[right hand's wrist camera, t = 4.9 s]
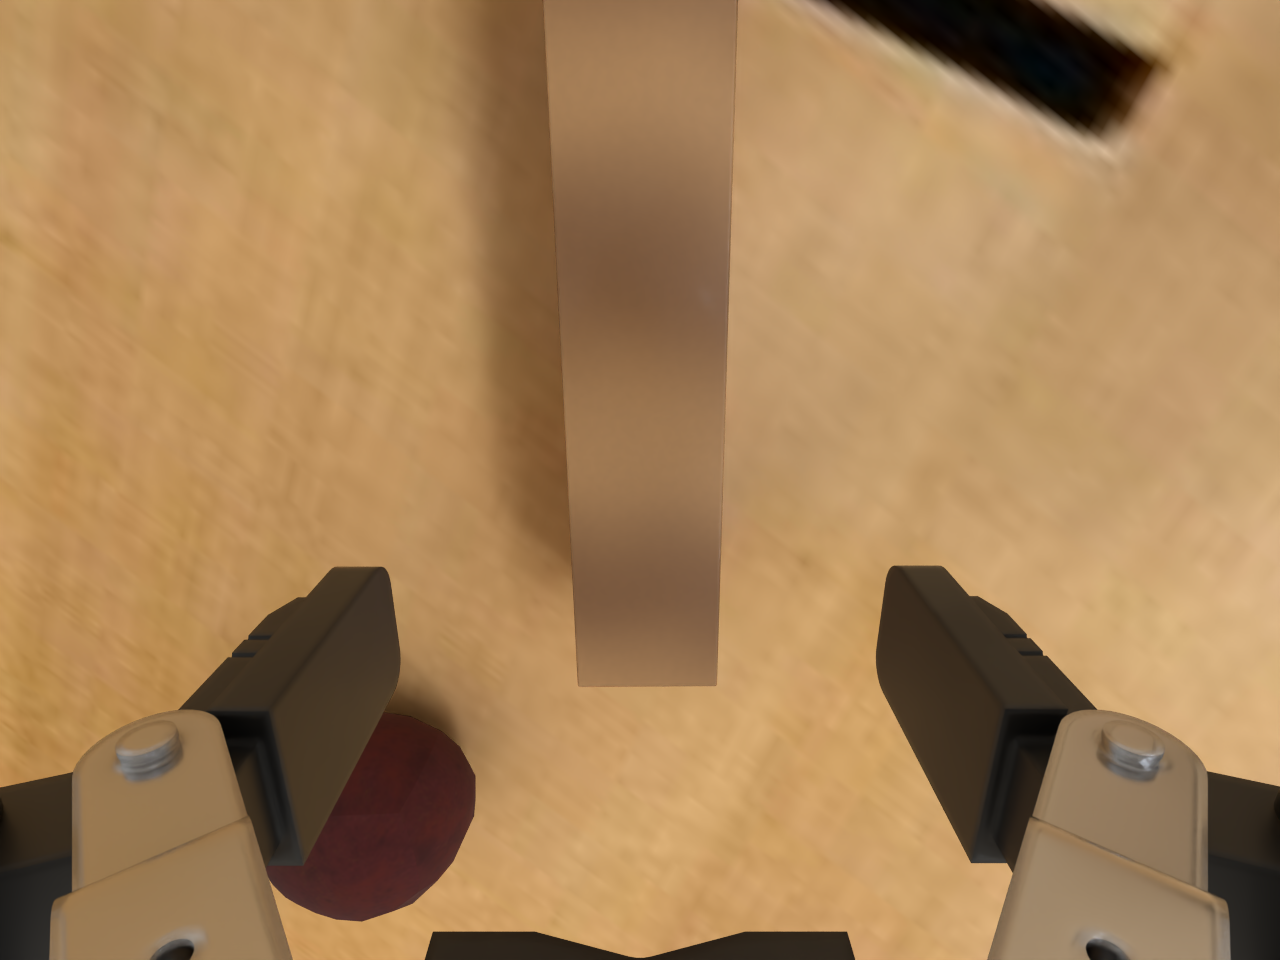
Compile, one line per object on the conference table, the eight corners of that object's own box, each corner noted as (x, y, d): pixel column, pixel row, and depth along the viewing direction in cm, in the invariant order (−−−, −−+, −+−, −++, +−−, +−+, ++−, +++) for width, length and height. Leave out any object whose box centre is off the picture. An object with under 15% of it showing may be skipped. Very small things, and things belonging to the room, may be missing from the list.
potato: (288, 684, 29) (183, 821, 22) (472, 664, 28) (421, 798, 22) (338, 820, 31) (256, 981, 25) (508, 804, 31) (471, 962, 24)
